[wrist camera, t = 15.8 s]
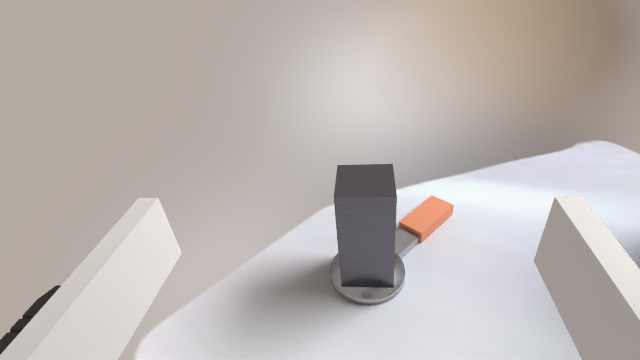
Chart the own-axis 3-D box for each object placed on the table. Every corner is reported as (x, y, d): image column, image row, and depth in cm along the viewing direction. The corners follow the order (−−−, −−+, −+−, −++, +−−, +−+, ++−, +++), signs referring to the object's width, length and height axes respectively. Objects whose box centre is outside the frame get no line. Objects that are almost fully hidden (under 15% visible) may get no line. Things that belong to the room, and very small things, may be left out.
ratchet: (372, 319, 40) (372, 295, 38) (316, 276, 46) (313, 254, 43) (471, 220, 52) (475, 198, 49) (417, 196, 57) (418, 175, 55)
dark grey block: (343, 250, 47) (337, 165, 40) (390, 250, 47) (392, 164, 39) (341, 286, 42) (333, 197, 35) (393, 287, 42) (396, 196, 34)
